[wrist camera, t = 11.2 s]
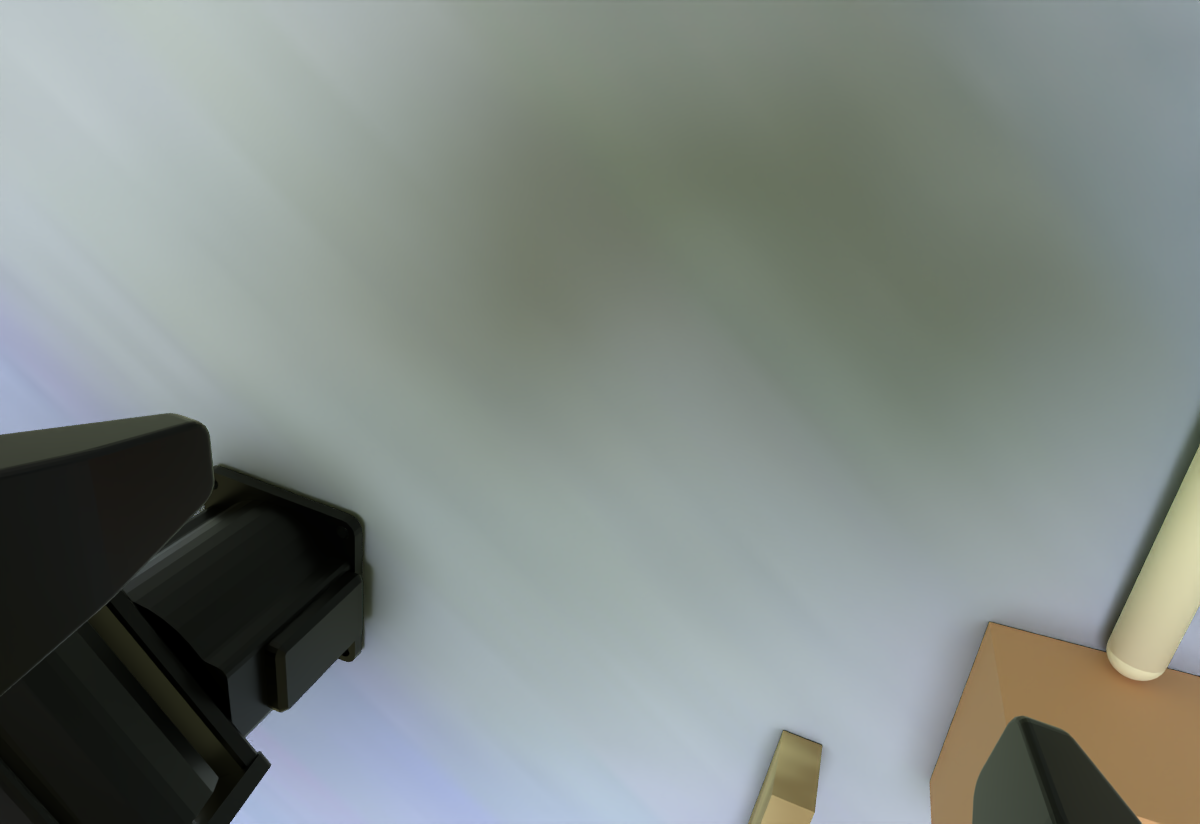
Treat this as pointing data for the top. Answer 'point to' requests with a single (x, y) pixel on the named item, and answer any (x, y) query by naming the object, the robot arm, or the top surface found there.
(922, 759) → the top surface
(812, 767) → the shelf lane
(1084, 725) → the block
